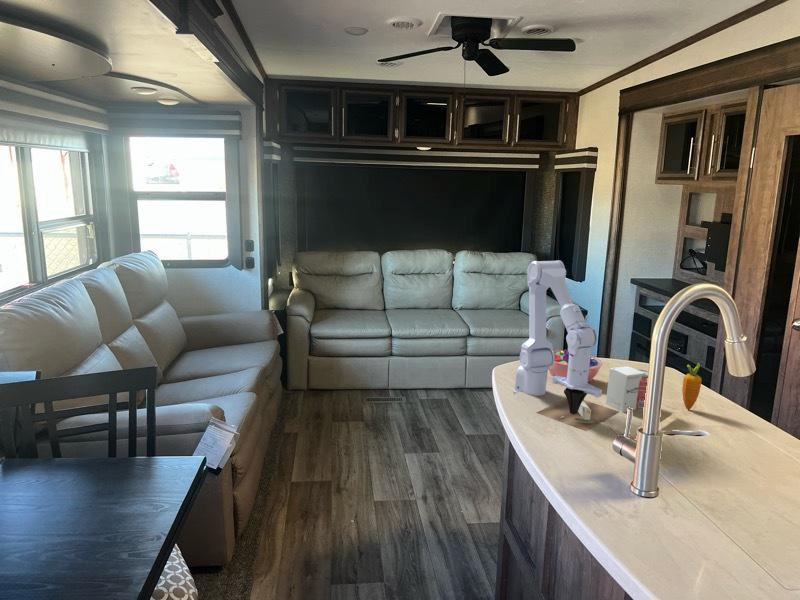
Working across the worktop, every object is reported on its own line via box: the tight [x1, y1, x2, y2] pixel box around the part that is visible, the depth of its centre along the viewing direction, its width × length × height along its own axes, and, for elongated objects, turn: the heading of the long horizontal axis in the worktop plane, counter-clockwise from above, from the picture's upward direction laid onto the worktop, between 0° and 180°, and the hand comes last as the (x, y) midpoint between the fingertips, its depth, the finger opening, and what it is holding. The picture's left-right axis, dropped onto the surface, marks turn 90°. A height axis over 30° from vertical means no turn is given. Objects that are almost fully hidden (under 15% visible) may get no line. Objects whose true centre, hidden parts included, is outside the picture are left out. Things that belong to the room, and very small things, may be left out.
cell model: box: [548, 348, 603, 383], centre depth 197 cm, size 17×20×11 cm
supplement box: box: [605, 365, 645, 413], centre depth 174 cm, size 7×7×13 cm
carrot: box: [682, 363, 702, 411], centre depth 175 cm, size 5×5×15 cm
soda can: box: [635, 369, 649, 412], centre depth 174 cm, size 7×7×12 cm
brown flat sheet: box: [536, 398, 620, 432], centre depth 169 cm, size 16×20×1 cm
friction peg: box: [578, 398, 591, 420], centre depth 167 cm, size 3×11×4 cm, turn 1°
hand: (573, 413), depth 165 cm, fingers closed
